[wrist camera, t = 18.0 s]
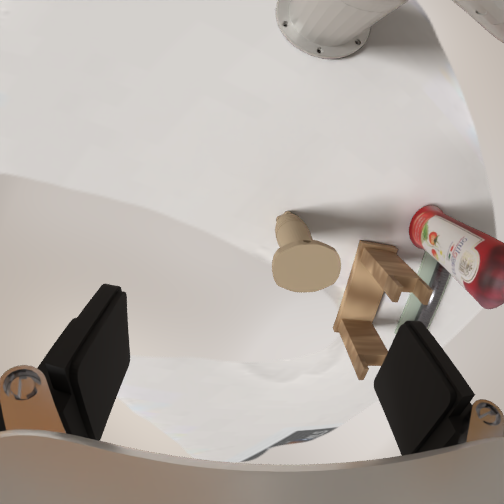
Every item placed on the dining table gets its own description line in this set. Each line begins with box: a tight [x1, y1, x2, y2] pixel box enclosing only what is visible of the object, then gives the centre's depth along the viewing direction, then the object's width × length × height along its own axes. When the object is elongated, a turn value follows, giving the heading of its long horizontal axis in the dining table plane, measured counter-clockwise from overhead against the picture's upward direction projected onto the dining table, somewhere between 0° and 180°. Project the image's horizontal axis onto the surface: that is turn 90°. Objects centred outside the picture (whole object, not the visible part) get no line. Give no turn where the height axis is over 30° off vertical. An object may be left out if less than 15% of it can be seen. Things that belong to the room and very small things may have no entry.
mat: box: [395, 251, 451, 334], centre depth 48 cm, size 16×7×1 cm, turn 171°
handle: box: [272, 211, 341, 292], centre depth 36 cm, size 5×6×15 cm
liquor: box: [409, 205, 504, 309], centre depth 31 cm, size 7×7×28 cm
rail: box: [414, 261, 450, 328], centre depth 47 cm, size 15×3×3 cm, turn 171°
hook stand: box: [333, 240, 433, 380], centre depth 41 cm, size 15×6×13 cm, turn 171°
